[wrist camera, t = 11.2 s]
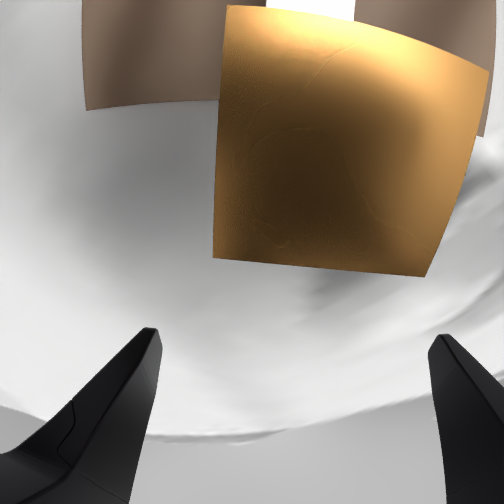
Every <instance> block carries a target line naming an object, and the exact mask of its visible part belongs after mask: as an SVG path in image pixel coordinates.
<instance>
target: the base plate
mask: <svg viewBox="0 0 504 504" xmlns="http://www.w3.org/2000/svg"><path fill="white" fill-rule="evenodd" d="M266 3H267V0H82V62H83V80H84V93H85V104H86V111H89V110H95V109H102V108H110V107H118V106H126V105H136V104H146V103H159V102H174V101H196V100H219V97H220V82H221V68H222V56H223V44H224V32H225V21H226V11H227V5H243V6H259V7H266ZM353 21H354V22H359V23H363V24H366V25H370V26H374V27H378V28H381V29H384V30H388V31H391V32H394V33H398V34H401V35H404V36H407V37H410V38H412V39H415V40H418V41H421V42H424V43H426V44H429V45H431V46H434V47H437V48H439V49H441V50H444V51H446V52H449V53H451V54H453V55H456V56H458V57H460V58H462V59H464V60H466V61H469V62H471V63H473V64H475V65H477V66H479V67H481V68H483V69H485V70H487V71H489V77H488V83H487V89H486V94H485V99H484V104H483V109H482V114H481V118H480V122H479V127H478V131H477V136H480V137H483V136H484V131H485V126H486V120H487V115H488V109H489V102H490V95H491V88H492V80H493V70H494V59H495V44H496V0H355V6H354V16H353Z"/></svg>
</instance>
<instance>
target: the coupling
mask: <svg viewBox="0 0 504 504" xmlns="http://www.w3.org/2000/svg"><path fill="white" fill-rule="evenodd" d="M354 6H355V0H267V3H266V7H259V6H243V5H227V11H226V21H225V32H224V44H223V56H222V68H221V82H220V97H219V112H218V129H217V148H216V170H215V195H214V226H213V258H220V259H230V260H240V261H251V262H261V263H271V264H282V265H292V266H303V267H314V268H325V269H336V270H347V271H358V272H369V273H380V274H392V275H404V276H415V277H425V275H426V273H427V271H428V269H429V267H430V264H431V262H432V260H433V258H434V255H435V253H436V251H437V249H438V246H439V244H440V241H441V239H442V237H443V234H444V232H445V229H446V227H447V224H448V222H449V219H450V216H451V214H452V211H453V208H454V206H455V203H456V200H457V197H458V194H459V191H460V189H461V186H462V183H463V179H464V176H465V173H466V170H467V167H468V163H469V160H470V157H471V153H472V150H473V146H474V142H475V138H476V135H477V131H478V127H479V122H480V118H481V114H482V109H483V104H484V99H485V94H486V89H487V83H488V77H489V71H487V70H485V69H483V68H481V67H479V66H477V65H475V64H473V63H471V62H469V61H466V60H464V59H462V58H460V57H458V56H456V55H453V54H451V53H449V52H446V51H444V50H441V49H439V48H437V47H434V46H431V45H429V44H426V43H424V42H421V41H418V40H415V39H412V38H410V37H407V36H404V35H401V34H398V33H394V32H391V31H388V30H384V29H381V28H378V27H374V26H370V25H366V24H363V23H359V22H354V21H353V16H354Z"/></svg>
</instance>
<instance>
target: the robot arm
mask: <svg viewBox="0 0 504 504" xmlns="http://www.w3.org/2000/svg"><path fill="white" fill-rule="evenodd" d="M161 357H162V343H161V339H160V336H159V332H158V330H157V329H156V328H148V327H145V328H143V329H142V330H141V331H140V332H139V333H138V334H137V335H136V336H135V337H134V338H133V339H132V340H131V341H130V342H129V343H127V344H126V345H125V346H124V347H123V348H122V349H121V350H120V351H119V352H118V353H117V354H116V355H115V356H114V357H113V358H112V359H111V360H110V361H109V362H108V363H107V364H106V365H105V366H104V367H103V368H102V369H101V370H100V371H99V372H98V373H97V374H96V375H95V376H94V377H93V378H92V379H91V380H90V381H89V382H88V383H87V384H86V385H85V386H84V387H83V388H82V389H81V390H80V391H79V392H78V393H77V394H76V395H75V396H74V397H73V398H72V400H70V401H69V402H68V403H67V404H66V405H65V406H64V407H63V408H62V409H61V410H60V411H59V412H58V413H57V414H56V415H55V416H54V417H53V418H52V419H50V420H49V421H48V422H47V423H46V424H45V425H43V426H42V427H41V428H40V429H38V430H37V431H36V432H35V433H34V434H32V435H31V436H30V437H29V438H27V440H25V441H24V442H23V443H21V444H20V445H19V446H17V447H16V448H14V449H13V450H11V451H9V452H6V453H3V454H0V504H129V500H130V496H131V491H132V487H133V482H134V478H135V474H136V470H137V465H138V461H139V457H140V453H141V449H142V445H143V441H144V437H145V433H146V429H147V425H148V421H149V418H150V414H151V410H152V406H153V403H154V399H155V395H156V389H157V382H158V376H159V369H160V363H161ZM428 361H429V369H430V377H431V387H432V395H433V401H434V406H435V411H436V417H437V422H438V429H439V434H440V441H441V448H442V456H443V465H444V474H445V485H446V495H447V496H446V500H447V504H504V387H503V386H502V385H501V384H500V383H499V382H498V381H497V380H496V379H495V378H494V377H493V376H492V375H491V374H490V373H489V372H488V371H487V370H486V369H485V368H484V367H483V366H482V365H481V364H480V363H479V362H478V361H477V360H476V359H475V358H474V357H473V356H472V355H471V354H470V353H469V352H468V351H467V350H466V349H465V348H464V347H462V346H461V345H460V344H459V343H458V342H457V341H456V340H455V339H454V338H453V337H452V336H451V335H449V334H439V335H438V336H437V337H436V339H435V340H434V342H433V344H432V345H431V347H430V349H429V351H428Z"/></svg>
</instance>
